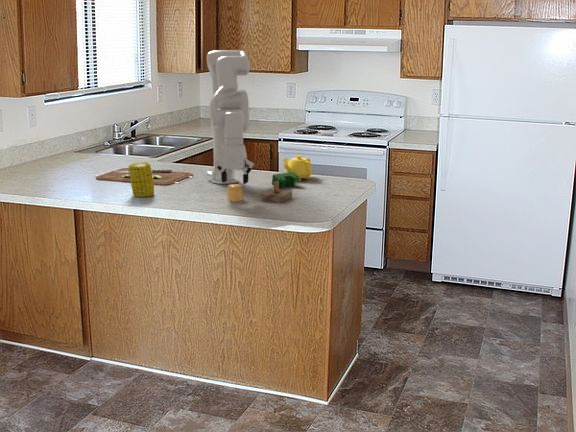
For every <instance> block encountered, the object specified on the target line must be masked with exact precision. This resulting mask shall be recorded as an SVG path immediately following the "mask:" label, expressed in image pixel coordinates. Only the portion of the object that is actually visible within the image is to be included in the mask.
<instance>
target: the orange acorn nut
mask: <svg viewBox="0 0 576 432" xmlns="http://www.w3.org/2000/svg"><path fill="white" fill-rule="evenodd" d="M243 190H244V189H243V186H242V184H238V183H230V184H228V185H227V188H226V193H227V194H226V196H227V198H226V201H229V202H241V201H243V200H244V199H243V198H244V191H243Z"/></svg>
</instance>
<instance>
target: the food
mask: <svg viewBox="0 0 576 432" xmlns="http://www.w3.org/2000/svg"><path fill="white" fill-rule="evenodd" d="M128 168H129V173H130V181H131V183H130V186H131V189H132V190H131V192H132V195H133V196H134V197H137V198H143V197H144V198H145V197H153V196H155V185H154V183H153V178H152V171H151V170H152V167H151V164H150V163H149V162H146V161H141V162H133V163H131V164H129V165H128Z"/></svg>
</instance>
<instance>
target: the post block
mask: <svg viewBox="0 0 576 432" xmlns="http://www.w3.org/2000/svg"><path fill="white" fill-rule="evenodd" d="M292 198H293V191H292V190H286V189H280V187H279V182H278V181H275V182H274V186H273V188H269V189H268V190H265V191H264V192H262V193H260V202H270V203H277V204H278V203H280V204H284V203H286V202H288V201H289V200H291V199H292Z"/></svg>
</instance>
